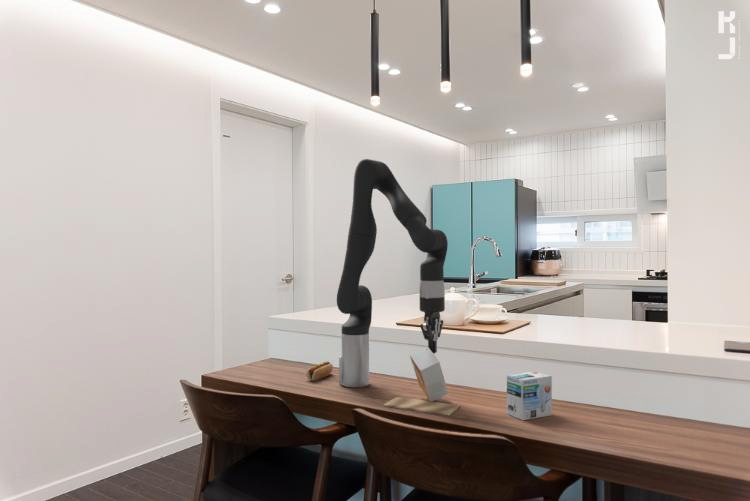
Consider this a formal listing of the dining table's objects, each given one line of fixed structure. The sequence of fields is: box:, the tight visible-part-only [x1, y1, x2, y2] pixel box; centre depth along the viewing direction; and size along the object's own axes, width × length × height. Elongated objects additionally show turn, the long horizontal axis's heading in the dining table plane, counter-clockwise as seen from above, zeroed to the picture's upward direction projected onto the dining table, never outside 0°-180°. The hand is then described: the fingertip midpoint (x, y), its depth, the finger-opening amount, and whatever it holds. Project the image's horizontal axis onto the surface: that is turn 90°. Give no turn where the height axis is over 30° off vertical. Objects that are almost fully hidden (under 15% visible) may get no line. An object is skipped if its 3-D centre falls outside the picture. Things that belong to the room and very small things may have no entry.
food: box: [306, 361, 333, 382], centre depth 189 cm, size 14×6×5 cm, turn 158°
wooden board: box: [383, 396, 461, 416], centre depth 153 cm, size 20×9×1 cm, turn 62°
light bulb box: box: [506, 371, 553, 421], centre depth 145 cm, size 11×7×11 cm, turn 117°
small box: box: [409, 346, 449, 402], centre depth 157 cm, size 8×6×13 cm
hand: (432, 353), depth 160 cm, fingers closed
